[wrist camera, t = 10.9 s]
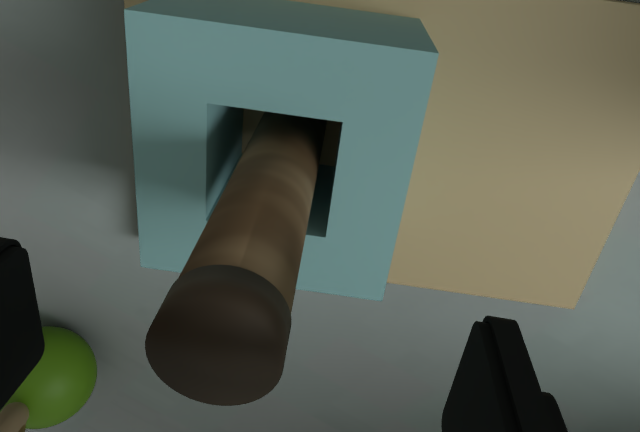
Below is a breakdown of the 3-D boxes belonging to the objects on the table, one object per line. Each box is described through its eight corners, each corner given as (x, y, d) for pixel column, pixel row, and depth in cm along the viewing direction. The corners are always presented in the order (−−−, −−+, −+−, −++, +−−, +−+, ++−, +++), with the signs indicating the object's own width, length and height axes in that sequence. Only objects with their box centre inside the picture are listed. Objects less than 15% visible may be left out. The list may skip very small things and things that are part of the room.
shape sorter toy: (697, 11, 20) (843, 50, 14) (567, 296, 27) (626, 406, 21) (130, -68, 20) (28, -63, 14) (147, 236, 27) (84, 328, 21)
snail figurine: (134, 327, 30) (12, 540, 20) (92, 387, 33) (-34, 600, 23) (47, 280, 29) (-132, 481, 19) (11, 346, 32) (-162, 553, 21)
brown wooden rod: (332, 89, 21) (289, 314, 9) (324, 149, 23) (278, 413, 11) (267, 80, 21) (141, 293, 9) (263, 141, 23) (149, 395, 11)
